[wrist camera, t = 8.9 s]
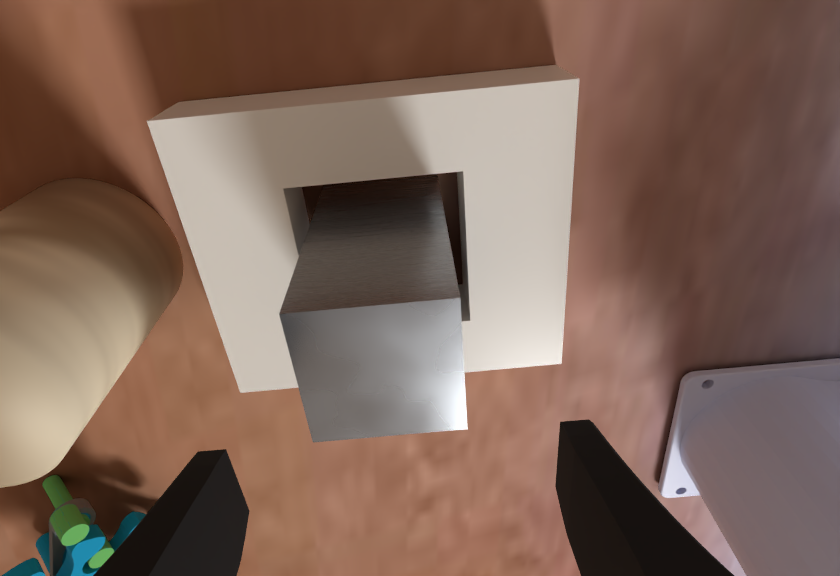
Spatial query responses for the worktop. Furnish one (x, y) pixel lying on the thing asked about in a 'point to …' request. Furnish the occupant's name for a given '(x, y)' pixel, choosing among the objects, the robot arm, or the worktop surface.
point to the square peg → (377, 314)
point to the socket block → (370, 160)
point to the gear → (73, 537)
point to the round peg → (73, 311)
